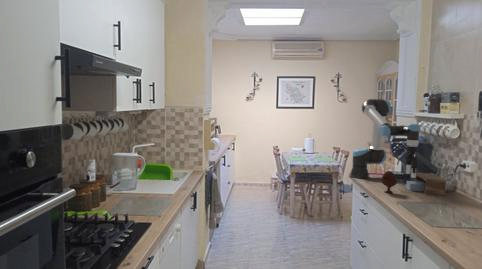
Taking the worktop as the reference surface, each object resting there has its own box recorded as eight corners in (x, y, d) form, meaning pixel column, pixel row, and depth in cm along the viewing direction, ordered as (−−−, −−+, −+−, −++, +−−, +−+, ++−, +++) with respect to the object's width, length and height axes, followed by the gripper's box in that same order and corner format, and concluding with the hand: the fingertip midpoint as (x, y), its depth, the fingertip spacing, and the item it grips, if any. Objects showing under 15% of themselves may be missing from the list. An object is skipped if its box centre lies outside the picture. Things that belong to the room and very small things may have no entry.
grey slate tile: (406, 187, 271) (406, 180, 271) (432, 189, 268) (433, 182, 268) (409, 190, 261) (410, 183, 261) (437, 192, 258) (438, 184, 258)
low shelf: (415, 186, 277) (415, 172, 277) (432, 186, 275) (433, 173, 274) (425, 194, 252) (426, 179, 251) (445, 194, 250) (445, 180, 249)
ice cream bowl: (400, 194, 249) (401, 172, 248) (383, 194, 249) (384, 172, 248) (393, 191, 259) (394, 169, 258) (377, 190, 260) (378, 169, 259)
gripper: (423, 148, 251) (421, 179, 253) (413, 144, 275) (411, 172, 277) (411, 147, 252) (409, 178, 254) (402, 143, 276) (400, 172, 278)
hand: (410, 175), depth 265 cm, fingers open, 13 cm apart
